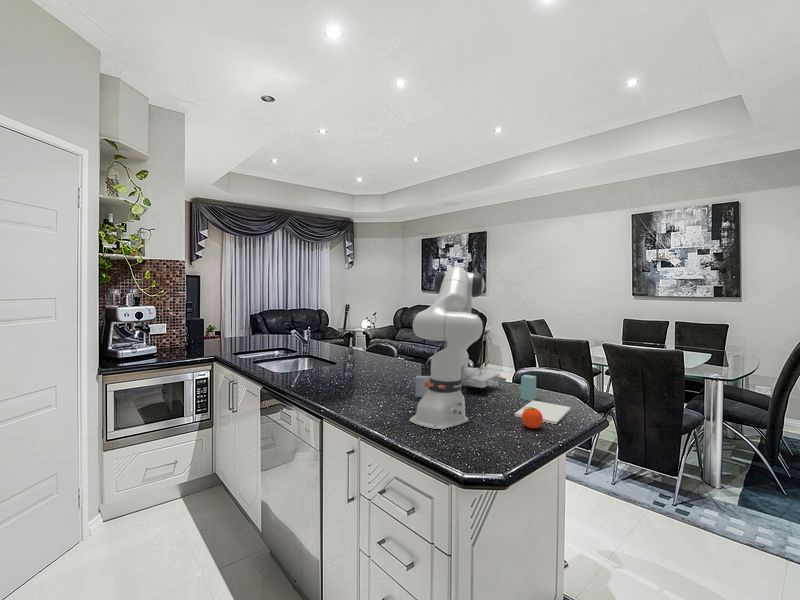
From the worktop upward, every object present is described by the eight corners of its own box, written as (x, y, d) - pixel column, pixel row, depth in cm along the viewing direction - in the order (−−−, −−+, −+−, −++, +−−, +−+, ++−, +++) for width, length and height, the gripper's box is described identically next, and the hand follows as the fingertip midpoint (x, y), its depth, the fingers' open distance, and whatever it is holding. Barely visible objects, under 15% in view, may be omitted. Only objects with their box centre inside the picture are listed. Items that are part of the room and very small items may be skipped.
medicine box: (433, 395, 174) (434, 376, 174) (433, 398, 170) (434, 378, 169) (415, 394, 175) (416, 375, 174) (415, 397, 170) (415, 377, 170)
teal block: (532, 401, 168) (532, 378, 168) (520, 399, 171) (521, 376, 171) (535, 398, 172) (536, 376, 172) (524, 396, 175) (524, 374, 175)
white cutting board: (556, 425, 139) (556, 421, 139) (514, 416, 148) (514, 413, 148) (570, 410, 157) (570, 407, 157) (532, 403, 166) (532, 400, 166)
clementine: (515, 424, 139) (515, 404, 138) (530, 422, 141) (531, 402, 141) (531, 432, 131) (531, 411, 131) (547, 430, 134) (547, 409, 134)
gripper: (464, 374, 178) (493, 379, 170) (482, 367, 195) (509, 371, 187) (463, 388, 178) (492, 393, 170) (482, 380, 195) (509, 384, 187)
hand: (501, 382), depth 179 cm, fingers open, 8 cm apart
